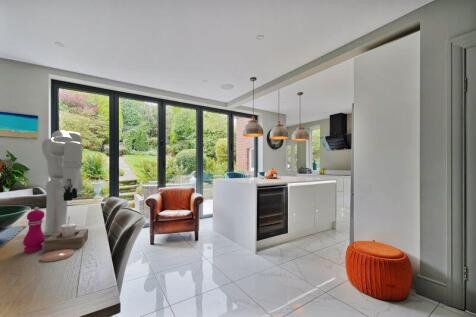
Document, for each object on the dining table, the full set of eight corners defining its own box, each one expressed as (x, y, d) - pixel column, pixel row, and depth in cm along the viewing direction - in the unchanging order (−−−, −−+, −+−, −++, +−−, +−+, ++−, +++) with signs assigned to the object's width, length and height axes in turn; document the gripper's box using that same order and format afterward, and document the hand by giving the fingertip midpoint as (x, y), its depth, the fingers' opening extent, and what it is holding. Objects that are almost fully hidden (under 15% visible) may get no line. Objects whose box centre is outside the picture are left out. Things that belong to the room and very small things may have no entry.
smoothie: (57, 247, 100) (59, 218, 101) (61, 243, 105) (63, 215, 106) (74, 245, 103) (75, 217, 104) (77, 241, 108) (78, 214, 109)
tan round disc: (45, 254, 92) (45, 251, 92) (76, 249, 97) (76, 247, 97) (35, 263, 82) (35, 261, 83) (70, 258, 87) (70, 256, 87)
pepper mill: (30, 254, 92) (33, 208, 93) (17, 252, 93) (21, 207, 95) (48, 248, 99) (50, 206, 100) (36, 246, 101) (39, 205, 102)
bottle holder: (55, 241, 108) (55, 231, 108) (87, 237, 114) (88, 228, 115) (43, 252, 94) (44, 241, 94) (81, 247, 100) (81, 237, 100)
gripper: (67, 166, 112) (66, 198, 111) (57, 165, 97) (55, 202, 96) (84, 166, 116) (83, 197, 115) (77, 165, 100) (75, 201, 99)
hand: (70, 199), depth 105 cm, fingers open, 9 cm apart
